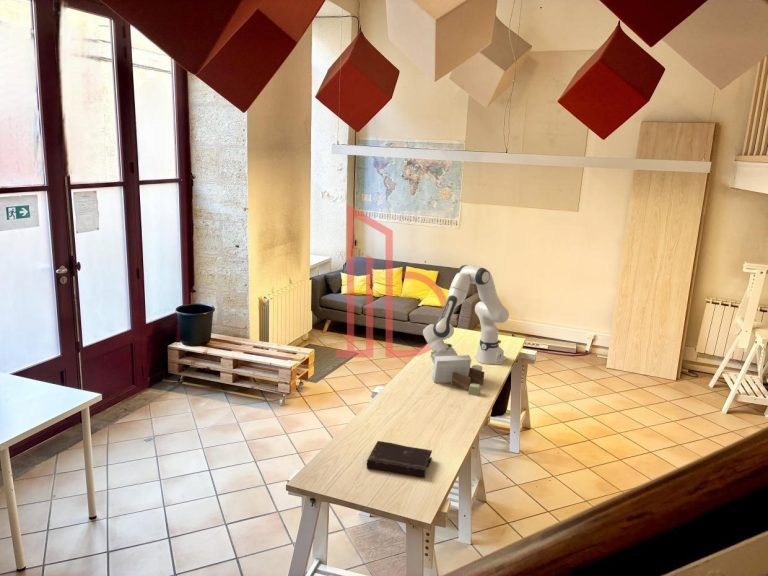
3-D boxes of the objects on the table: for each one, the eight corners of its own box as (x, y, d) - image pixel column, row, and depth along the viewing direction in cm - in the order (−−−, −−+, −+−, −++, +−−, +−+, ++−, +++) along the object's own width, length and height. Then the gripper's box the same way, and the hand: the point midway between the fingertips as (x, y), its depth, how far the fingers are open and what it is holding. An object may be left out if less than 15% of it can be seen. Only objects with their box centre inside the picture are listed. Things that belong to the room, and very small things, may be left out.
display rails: (466, 379, 362) (467, 366, 360) (483, 384, 354) (484, 371, 352) (451, 385, 351) (452, 372, 349) (468, 391, 343) (469, 378, 341)
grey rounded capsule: (474, 376, 366) (475, 364, 365) (483, 379, 363) (484, 366, 361) (469, 379, 362) (470, 366, 360) (477, 381, 358) (478, 369, 356)
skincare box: (464, 376, 362) (469, 354, 354) (467, 381, 357) (472, 360, 350) (431, 377, 357) (435, 355, 350) (433, 383, 353) (437, 361, 345)
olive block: (470, 391, 343) (471, 383, 342) (479, 393, 341) (480, 384, 340) (468, 394, 339) (469, 386, 338) (477, 396, 337) (478, 387, 336)
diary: (424, 480, 248) (425, 469, 247) (366, 470, 253) (366, 459, 252) (432, 458, 265) (432, 448, 264) (377, 449, 271) (378, 439, 270)
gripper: (432, 350, 353) (444, 370, 349) (453, 343, 368) (464, 363, 364) (425, 355, 357) (437, 375, 353) (446, 348, 372) (458, 368, 368)
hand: (451, 369), depth 358 cm, fingers closed
